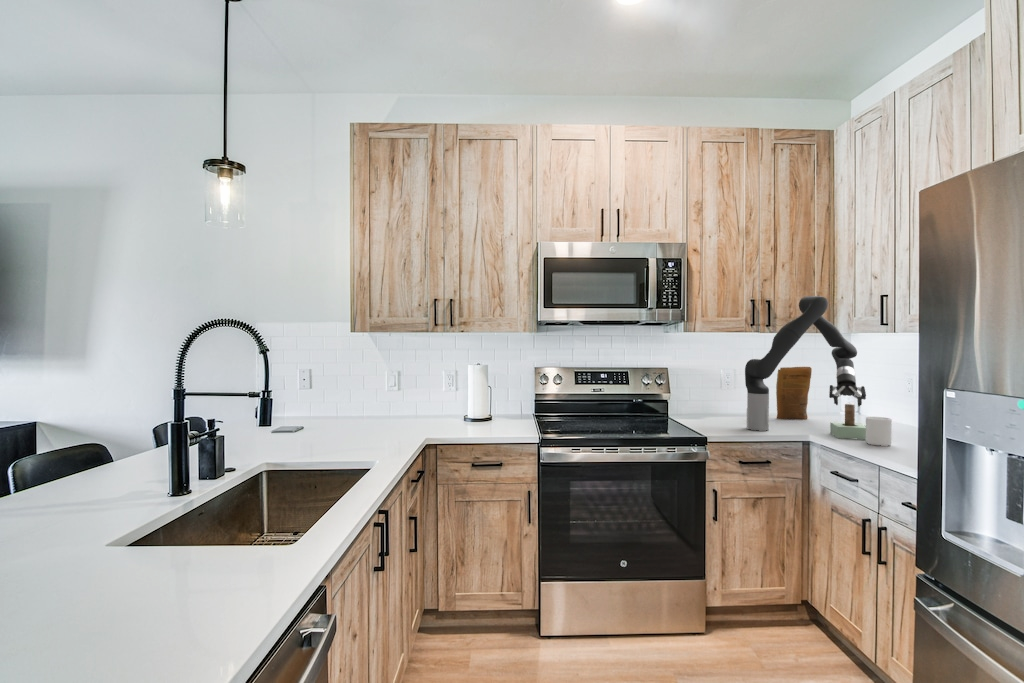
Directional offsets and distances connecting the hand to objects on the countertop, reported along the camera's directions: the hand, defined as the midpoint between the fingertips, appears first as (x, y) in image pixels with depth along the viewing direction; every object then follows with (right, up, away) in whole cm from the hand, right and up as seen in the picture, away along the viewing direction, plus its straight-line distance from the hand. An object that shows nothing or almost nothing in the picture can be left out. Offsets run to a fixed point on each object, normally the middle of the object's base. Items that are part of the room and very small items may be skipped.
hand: (848, 404), depth 236 cm
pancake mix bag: (-4, -13, +39) cm, 41 cm away
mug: (-4, -13, -24) cm, 28 cm away
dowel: (-5, -13, -9) cm, 17 cm away
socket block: (-5, -13, -9) cm, 17 cm away
